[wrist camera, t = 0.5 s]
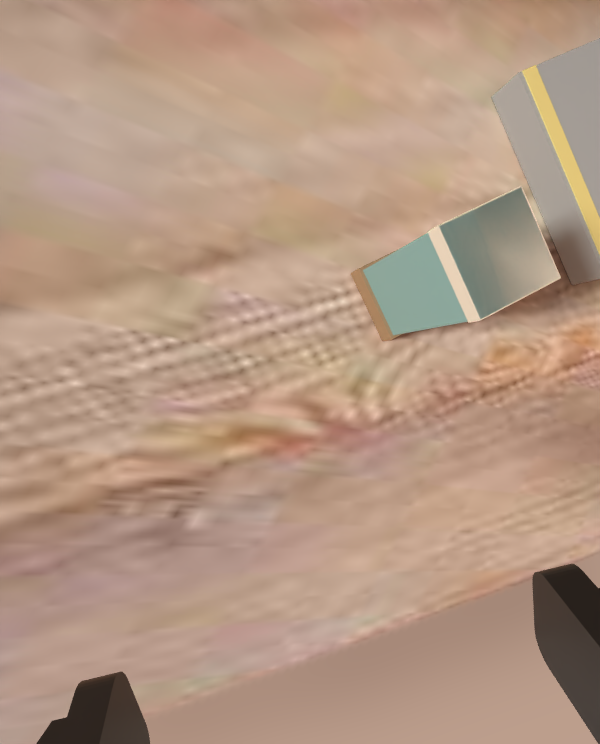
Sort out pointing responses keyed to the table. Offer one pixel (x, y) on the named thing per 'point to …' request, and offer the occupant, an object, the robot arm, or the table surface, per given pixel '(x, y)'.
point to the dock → (561, 150)
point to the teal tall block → (459, 269)
